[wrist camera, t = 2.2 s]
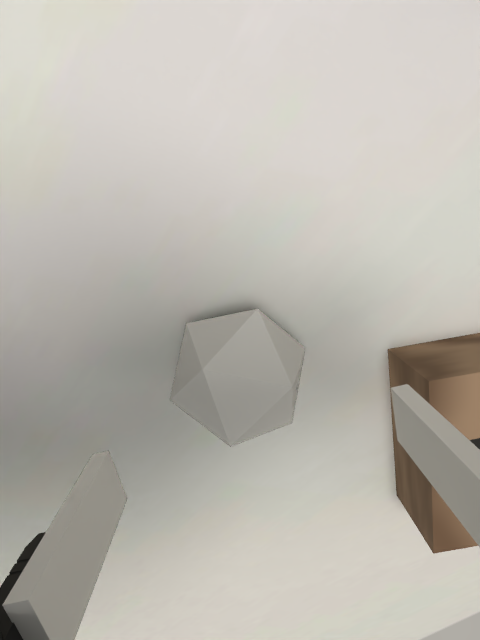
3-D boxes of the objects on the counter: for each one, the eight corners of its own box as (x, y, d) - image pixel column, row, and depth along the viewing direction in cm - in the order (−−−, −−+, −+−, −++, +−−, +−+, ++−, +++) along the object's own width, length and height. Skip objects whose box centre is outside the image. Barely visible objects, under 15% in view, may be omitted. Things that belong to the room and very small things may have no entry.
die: (234, 419, 29) (328, 460, 22) (136, 413, 24) (214, 464, 16) (253, 323, 30) (349, 330, 22) (162, 297, 25) (248, 294, 17)
